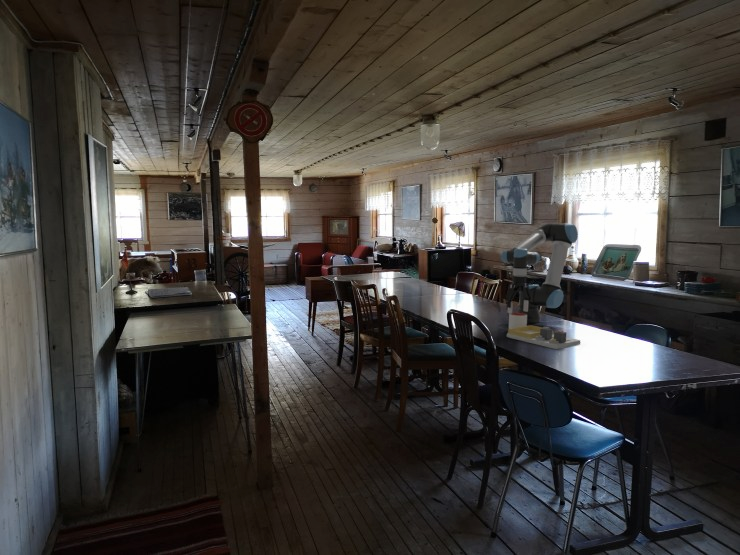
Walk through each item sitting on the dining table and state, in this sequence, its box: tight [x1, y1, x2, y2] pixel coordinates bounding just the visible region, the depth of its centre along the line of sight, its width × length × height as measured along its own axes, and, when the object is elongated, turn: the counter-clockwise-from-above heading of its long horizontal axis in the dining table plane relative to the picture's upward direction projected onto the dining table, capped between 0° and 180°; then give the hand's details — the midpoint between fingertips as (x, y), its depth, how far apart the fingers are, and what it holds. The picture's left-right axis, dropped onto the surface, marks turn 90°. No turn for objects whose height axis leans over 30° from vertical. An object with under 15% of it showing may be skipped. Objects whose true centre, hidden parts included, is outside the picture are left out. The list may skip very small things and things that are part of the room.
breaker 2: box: [553, 330, 568, 343], centre depth 270 cm, size 4×4×6 cm
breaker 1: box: [540, 326, 553, 340], centre depth 277 cm, size 4×4×6 cm
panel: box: [506, 324, 581, 350], centre depth 283 cm, size 20×32×4 cm, turn 34°
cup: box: [508, 312, 528, 329], centre depth 305 cm, size 10×10×10 cm
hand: (517, 312), depth 304 cm, fingers open, 13 cm apart
